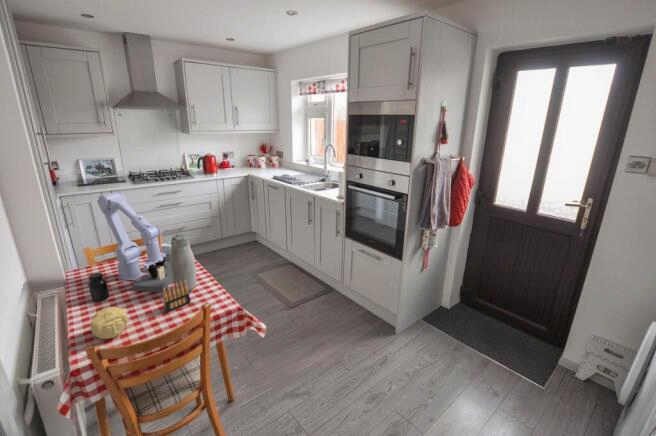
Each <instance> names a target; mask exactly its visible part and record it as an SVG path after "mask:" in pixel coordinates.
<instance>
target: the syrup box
mask: <svg viewBox="0 0 656 436" xmlns="http://www.w3.org/2000/svg"><path fill="white" fill-rule="evenodd" d="M160 251H161V253H166V257H163V259H165V260H166V261H165V264H164V268H167V269H171V261H170V259H171V241H165V242H164V243H162V244H161V245H160Z"/></svg>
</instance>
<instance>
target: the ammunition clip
mask: <svg viewBox="0 0 656 436" xmlns="http://www.w3.org/2000/svg"><path fill="white" fill-rule="evenodd" d="M170 285H171V286H169V285H168V286H167V287H166V288H164V287H163V291H162V298H163V308H164V309H163V310H164V313H165V314H168V313H170V312H173V311H175V310H177V309H180V308H182V307H184V306H187V305H189V304H191V297H190V293H189V291H188V287H187V284H186V281H185V279H184V289H183V285H182V282H181V281H180V283H179V286H180V291H179V287H178V284H177V282H176V284H174V283H171V284H170Z"/></svg>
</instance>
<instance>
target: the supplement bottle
mask: <svg viewBox="0 0 656 436" xmlns="http://www.w3.org/2000/svg"><path fill="white" fill-rule="evenodd" d="M88 278H89V282H88V283H87V285H88V289H89V293H90V294H89V295H90V299H91V301H92V302H93V303H102V302H104V301H106V300H108V299H109V298H110V297H111V296H110V290H109V286H108V281H107V279H106V278H105V277H104V276H103V273H102V272H95V273H92V274H89V276H88Z"/></svg>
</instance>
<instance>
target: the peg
mask: <svg viewBox="0 0 656 436" xmlns="http://www.w3.org/2000/svg"><path fill="white" fill-rule="evenodd" d="M146 270H147V269H146ZM147 274H148V277H149V279H155V280H162V279H163V278H164V277H165V272H164V266H158V267H157V278H152V276H151V274H150V273H149V271H148V270H147Z"/></svg>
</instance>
